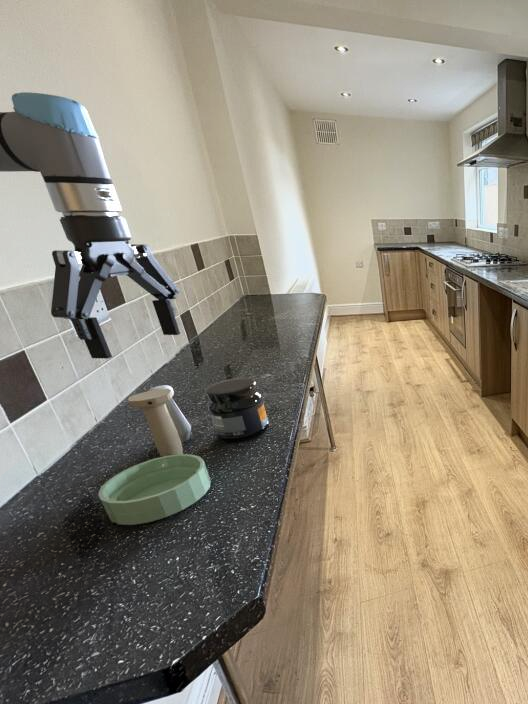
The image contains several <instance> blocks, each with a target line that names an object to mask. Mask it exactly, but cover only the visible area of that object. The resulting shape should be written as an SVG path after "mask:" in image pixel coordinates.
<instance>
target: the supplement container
mask: <svg viewBox="0 0 528 704" xmlns="http://www.w3.org/2000/svg"><path fill="white" fill-rule="evenodd" d="M204 394H205V396H206V399H207V400H208V401H207V403H206V409H207V410H208V413H209V416H210V419H211V422H212V425H213V428H214V432H215V436H216V437H217V439H218V440H219V441H221V442H224V443H231V444H233V443H242V442H247V441H249V440H253V439H255V438H257V437H259V436H262V435H263V434H264V433H265V432H266V431H267V430H268V428H269V426H270V421H269V419H268V415H267V412H266V411H267V410H266V409H265V404H264V400H263V394H262V393H261V392H260V391H259V390H258V385H257V381H256V380H255V379H253V378H249V377H236V378H229V379H225V380H221V381H218V382H215V383H213V384H210V385H209V386H207V388H205V390H204Z"/></svg>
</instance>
